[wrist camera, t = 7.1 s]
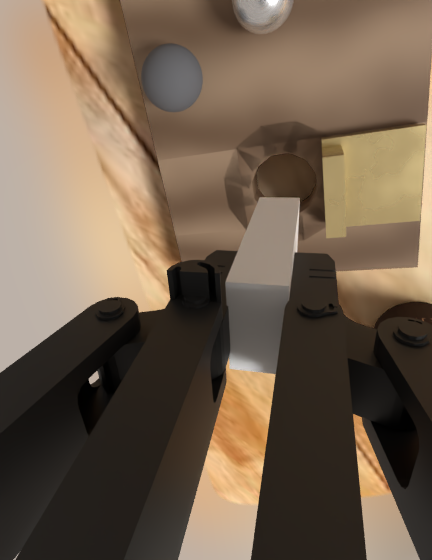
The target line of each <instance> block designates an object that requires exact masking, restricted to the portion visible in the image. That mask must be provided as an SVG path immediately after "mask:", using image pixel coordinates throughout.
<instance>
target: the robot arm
mask: <svg viewBox="0 0 432 560" xmlns="http://www.w3.org/2000/svg"><path fill="white" fill-rule="evenodd" d="M299 205H300V198H286V197H260V198H259V200H258V203H257V205H256V208H255V210H254V213H253V215H252V217H251V220H250V222H249V225H248V227H247V230H246V232H245V235H244V237H243V240H242V242H241V245H240V247H239V250H238V251H226V250H216V251H214V252H213V253H211V254H210V255H208V256H207V257H206V259H205V260H188V261H183V262H179V263H177V264H175V265H173V266H171V267H170V268H169V269H168V270H167V276H168V284H169V291H170V301H169V303H168V304H167V306H166V308H165V309H162V310H156V311H148V312H140V313H139V311H138V306H137V304H136V303H135V302H134V301H133V300H130V299H128V298H120V297H114V298H107V299H105V300H102V301H99V302H97V303H95V304H93V305H91V306H90V307H89V308H87V309H86V310H85V311H83V312H82V313H80V314H79V315H78V316H76V317H75V318H74V319H72V320H71V321H70V322H68V323H67V324H66V325H64V326H63V327H61V328H60V329H59V330H57V331H56V332H55V333H53V334H52V335H51V336H49V337H48V338H47V339H45V340H44V341H43V342H41V343H40V344H39V345H37V346H36V347H35V348H33V349H32V350H31V351H29V352H28V353H26V354H25V355H24V356H22V357H21V358H20V359H18V360H17V361H16V362H14V363H13V364H12V365H10V366H9V367H8V368H6V369H5V370H4V371H2V372H1V373H0V560H13V559H14V558H15V557H16V556H17V554H18V553H19V552H20V553H19V555H18V556H17V558H16V560H178V557H179V554H180V550H181V546H182V543H183V539H184V535H185V532H186V528H187V524H188V521H189V517H190V513H191V509H192V506H193V502H194V499H195V495H196V491H197V487H198V484H199V481H200V477H201V473H202V470H203V466H204V462H205V459H206V455H207V451H208V448H209V444H210V440H211V437H212V433H213V429H214V426H215V422H216V418H217V415H218V411H219V408H220V404H221V400H222V397H223V393H224V389H225V386H226V365H227V361H228V358H229V361H230V369H236V370H245V371H254V372H263V373H272V374H276V377H275V384H274V392H273V399H272V407H271V414H270V422H269V429H268V437H267V444H266V451H265V459H264V466H263V474H262V481H261V489H260V496H259V504H258V511H257V519H256V526H255V533H254V541H253V549H252V556H251V560H367V559H366V549H365V538H364V528H363V517H362V506H361V495H360V485H359V474H358V464H357V453H356V443H355V432H354V421H353V414H355V415H358V416H360V417H362V422H363V426H364V428H365V431H366V433H367V435H368V438H369V440H370V442H371V445H372V447H373V450H374V452H375V454H376V457H377V459H378V461H379V464H380V466H381V468H382V471H383V473H384V476H385V478H386V480H387V483H388V485H389V487H390V490H391V492H392V494H393V497H394V499H395V501H396V504H397V506H398V509H399V511H400V513H401V515H402V518H403V520H404V523H405V525H406V527H407V530H408V532H409V535H410V537H411V539H412V541H413V544H414V546H415V549H416V551H417V553H418V556H419V558H420V560H432V325H431V324H429V323H427V322H425V321H422V320H419V319H415V318H410V317H394V318H389V319H386V320H384V321H383V322H381V323H380V324H379V326H378V329H374V328H371V327H367V326H364V325H361V324H358V323H356V322H354V321H352V320H350V319H348V318H347V317H346V316H345V315H343V310H342V308H341V306H340V305H339V304H338V292H337V280H336V268H335V261H334V260H333V259H332V258H331V257H330V256H329V255H328V254H323V253H300V252H297V246H298V225H299ZM96 371H98V374H99V379H98V380H97V381H96V382H94V383H93V384H90V383H89V378H90V377H91V376H92V375H93V374H94V373H95V372H96Z"/></svg>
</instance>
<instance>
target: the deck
mask: <svg viewBox="0 0 432 560" xmlns="http://www.w3.org/2000/svg"><path fill="white" fill-rule="evenodd" d="M120 2H121V7H122V11H123V15H124V19H125V24H126V28H127V32H128V36H129V41H130V45H131V49H132V53H133V58H134V62H135V66H136V70H137V75H138V79H139V83H140V87H141V91H142V96H143V100H144V104H145V108H146V113H147V117H148V121H149V125H150V130H151V134H152V138H153V142H154V147H155V151H156V155H157V159H158V164H159V168H160V172H161V176H162V181H163V185H164V189H165V193H166V198H167V202H168V206H169V210H170V215H171V219H172V223H173V227H174V231H175V236H176V240H177V244H178V248H179V253H180V257H181V261H182V262H183V261H188V260H205V259H206V257H207V256H208V255H210V254H211V253H213V252H214V251H216V250H226V251H238V250H239V247H240V245H241V242H242V240H243V237H244V235H245V232H246V230H247V227H248V225H249V222H250V220H251V217H252V215H253V213H254V210H255V208H256V205H257V203H258V200H259V198H260V197H264V196H263V194H262V193H261V192H260V190H259V189H258V183H257V175H256V173H257V171H258V168H259V166H260V164H262V163H263V162H264V161H266V160H267V159H268V158H269V157H271V156H272V155H279V154H287V153H291V154H293V155H295V156H298V157H300V158H302V159H305V160H306V161H307V162H308V164H309V165H310V166H311V168H312V169H313V171H314V172H315V173H316V185H315V187H314V189H313V191H312V193H311V195H310V196H309V197H308V198H306V199H305V200H304V201H302V202H301V203H300V205H299V225H298V246H297V252H300V253H323V254H328V255H329V256H330V257H331V258H332V259H333V260H334V261H335V268H336V271H352V270H371V269H391V268H410V267H418V252H419V237H420V222H421V214H420V221H412V222H399V223H387V224H375V225H362V226H350V227H346V237H338V238H326V222H325V201H324V181H323V161H322V141H321V138H323V137H330V136H337V135H344V134H351V133H358V132H365V131H372V130H379V129H386V128H393V127H400V126H407V125H414V124H421V123H424V124H426V131H427V116H428V101H429V86H430V71H431V55H432V0H294V2H293V6H292V9H291V12H290V14H289V16H288V18H287V19H286V21H285V22H284V23H283V24H282V25H281V26H280V27H279V28H278V29H276V30H274V31H272V32H270V33H267V34H255V33H252V32H250V31H248V30H246V29H245V28H244V27H243V26H242V25H241V24H240V23H239V22H238V20H237V18H236V16H235V14H234V11H233V6H232V0H120ZM169 43H173V44H178V45H181V46H183V47H185V48H187V49H188V50H189V51H191V52H192V53H193V55H194V56H195V57H196V59H197V60H198V62H199V64H200V67H201V70H202V75H203V84H202V89H201V92H200V95H199V97H198V99H197V100H196V102H195V103H194V104H193V105H192V106H190V107H189V108H187V109H186V110H183V111H180V112H167V111H164V110H161V109H159V108H158V107H156V106H155V105H154V104H153V103H152V102H151V101H150V100H149V99H148V97H147V96H146V94H145V92H144V89H143V86H142V81H141V71H142V66H143V63H144V61H145V59H146V57H147V56H148V54H149V53H150V52H151V51H152V50H153V49H155V48H156V47H158V46H160V45H163V44H169ZM425 146H426V138H425ZM424 161H425V153H424ZM423 176H424V168H423ZM422 192H423V184H422ZM421 207H422V199H421Z"/></svg>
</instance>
